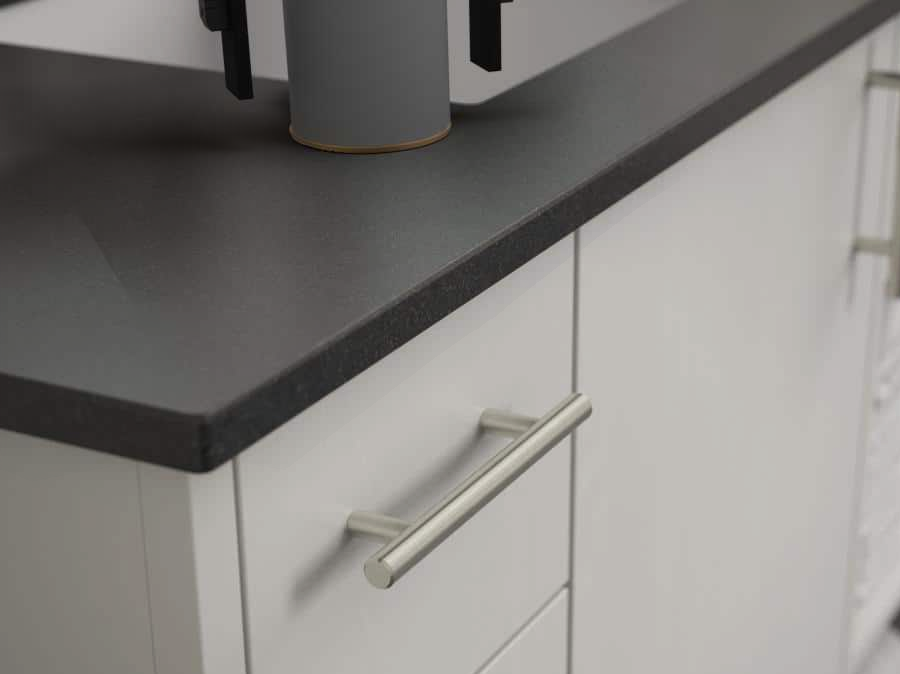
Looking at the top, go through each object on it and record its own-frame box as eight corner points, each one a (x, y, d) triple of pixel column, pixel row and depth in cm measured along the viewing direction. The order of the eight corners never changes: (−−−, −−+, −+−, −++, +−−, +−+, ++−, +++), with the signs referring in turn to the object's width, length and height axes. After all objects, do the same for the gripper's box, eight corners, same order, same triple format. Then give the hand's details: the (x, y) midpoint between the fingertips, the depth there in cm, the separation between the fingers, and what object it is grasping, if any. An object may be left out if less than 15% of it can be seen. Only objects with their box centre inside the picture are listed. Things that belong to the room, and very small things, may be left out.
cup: (264, 138, 85) (248, -62, 80) (332, 98, 92) (320, -89, 87) (414, 152, 83) (406, -54, 78) (472, 110, 89) (468, -82, 85)
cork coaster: (316, 161, 83) (316, 155, 82) (270, 119, 90) (270, 114, 89) (475, 140, 85) (475, 135, 85) (418, 101, 92) (418, 96, 92)
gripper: (87, -375, 69) (144, 124, 79) (620, -382, 77) (610, 70, 87) (57, -375, 75) (114, 88, 85) (555, -382, 83) (553, 41, 93)
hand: (365, 80), depth 86 cm, fingers open, 13 cm apart
